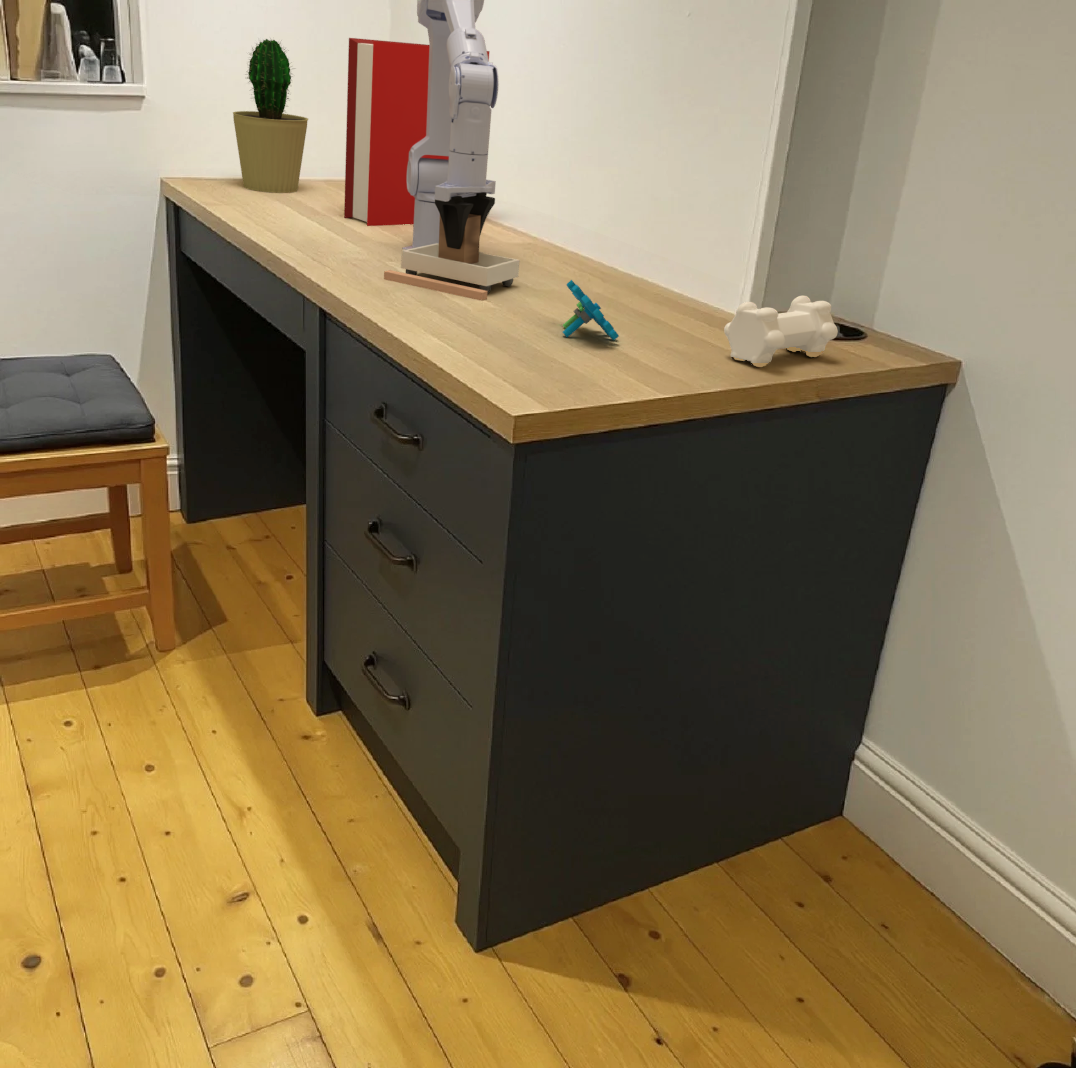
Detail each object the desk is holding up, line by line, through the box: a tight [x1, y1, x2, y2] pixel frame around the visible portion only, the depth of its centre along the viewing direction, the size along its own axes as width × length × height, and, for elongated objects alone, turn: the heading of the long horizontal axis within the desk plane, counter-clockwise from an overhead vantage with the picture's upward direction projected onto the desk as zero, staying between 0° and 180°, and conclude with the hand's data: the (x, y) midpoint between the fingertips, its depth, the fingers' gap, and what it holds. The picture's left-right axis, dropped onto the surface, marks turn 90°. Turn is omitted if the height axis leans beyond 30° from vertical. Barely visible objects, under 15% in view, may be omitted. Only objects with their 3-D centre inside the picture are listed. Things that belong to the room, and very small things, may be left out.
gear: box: [562, 279, 620, 341], centre depth 148 cm, size 11×6×10 cm
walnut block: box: [438, 214, 481, 264], centre depth 168 cm, size 4×4×7 cm
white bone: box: [723, 295, 839, 364], centre depth 148 cm, size 15×9×8 cm, turn 131°
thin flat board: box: [383, 269, 488, 301], centre depth 173 cm, size 23×17×2 cm
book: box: [343, 37, 490, 227], centre depth 213 cm, size 27×8×32 cm, turn 131°
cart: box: [400, 243, 521, 295], centre depth 170 cm, size 10×15×4 cm, turn 63°
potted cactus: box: [232, 37, 309, 194], centre depth 231 cm, size 15×15×30 cm
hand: (462, 245), depth 168 cm, fingers closed on walnut block, 4 cm apart
